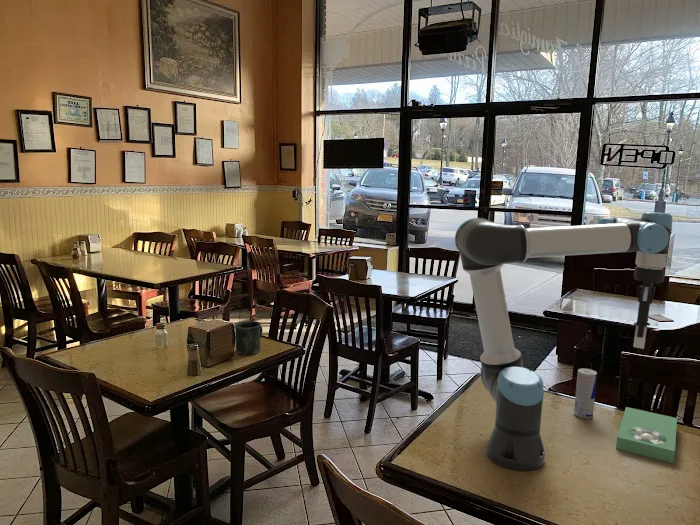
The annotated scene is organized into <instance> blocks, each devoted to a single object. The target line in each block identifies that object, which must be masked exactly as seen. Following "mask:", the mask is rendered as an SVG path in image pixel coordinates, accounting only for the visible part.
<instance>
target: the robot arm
mask: <svg viewBox="0 0 700 525" xmlns="http://www.w3.org/2000/svg"><path fill="white" fill-rule="evenodd" d="M672 231H673V216H672V215H671V214H670V213H666V212H658V211H657V212H655V211H644V212H642V214H641V218H628V217H627V218H626V217H616V216H615V217H614V216H610V217H609V216H607V217H605V216H604V217H603V216H602V217H601V218H600V219H598V221H597V223H596V224H585V225H583V224H582V225H566V226H550V227H549V226H548V227H531V228H526V227H524V225H522V224H518V225H517V224H515V225H512V224H510V225H509V224H501V223H498V222H497V223H496V222H494V221H490V220H489V219H487V218H483V217H474V218H469V219H467V220H465V221H463V222H462V223H461V224H460V225H459V226H458V227H457V230H456V232H455V236H454V243H455V247H456V249H457V250H458V252H459V255H460V260H461V264H462V265H461V266H462V269H463V271H464V272H466V273H468V274H469V279H470V283H471V288H472V289H471V290H472V294H473V295H472V296H473V299H474V303H475V304H474V305H475V310H476V315H477V320H478V326H479V330H480V336H481V342H482V347H483V353H481V355H480V356H479V359H480V364H481V367H480V379H481V382H482V385H483V386H484V388H485V390H487V391H488V393H489V394H490V397H491V398H492V399H493V401H494V402H495V406H496V408H495V421H494V422H495V423H494V428H493V430H491V431H492V432H491V435H490V436H489V439H488V440H487V443H486V454H487V457H488V458H489V459H490V460H491V461H492V462H494V463H495V464H497V465H499V466H501V467H504V468H506V469H510V470H514V471H527V472H528V471H533V470H534V471H535V470H537V469H539V468H541V467H543V466H544V464H545V459H546V452H545V448H544V444H543V441H542V436H541V423H542V411H543V400H544V395H545V391H544V390H545V388H544V381H543V379H542V377H541V376H540V375H539V374H538V373H537V372H535V371H534V370H530V369H529V368H526V367H524V364H523V359H522V358H523V357H522V353H521V351H520V350H519V349H517V348H516V347H515V345H514V344H515V343H514V340H513V334H512V327H511V322H510V316H509V311H508V305H507V299H506V294H505V289H504V288H505V287H504V283H503V279H502V278H503V277H502V272H501V268H502V267H503V266H504V265H506V264H515V263H525V261H527V260H528V259H530V258H531V259H533V258H548V257H549V258H550V257H551V258H552V257H565V256H581V255H583V256H584V255H597V254H611V253H614V254H615V253H634V252H636V255H635V265H636V266H635V267H634V271H633V279H634V280H636V281H639V282H642V285H639V286H638V299H637V300H638V301H637V302H638V303H639V304H638V309H637V310H638V311H637V319H636V322H634V323H633V326H635V331H634V337H633V338H634V339H633V346H632V347H633V348H636V349H642V350H644V349H645V344H646V337H647V331H648V327H649V326H650V325H651V323H650V322H649V315H650V314H649V313H650V307H651V305H652V303H653V300H654V295H655V291H656V287H653V284H654V283H655V284H660V283H663V282H664V280H665V275H666V270H665V269H664V268H666V265H667V261H670V257H668V253H669V249H670V248H669V247H670V240H671V235H672Z"/></svg>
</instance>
